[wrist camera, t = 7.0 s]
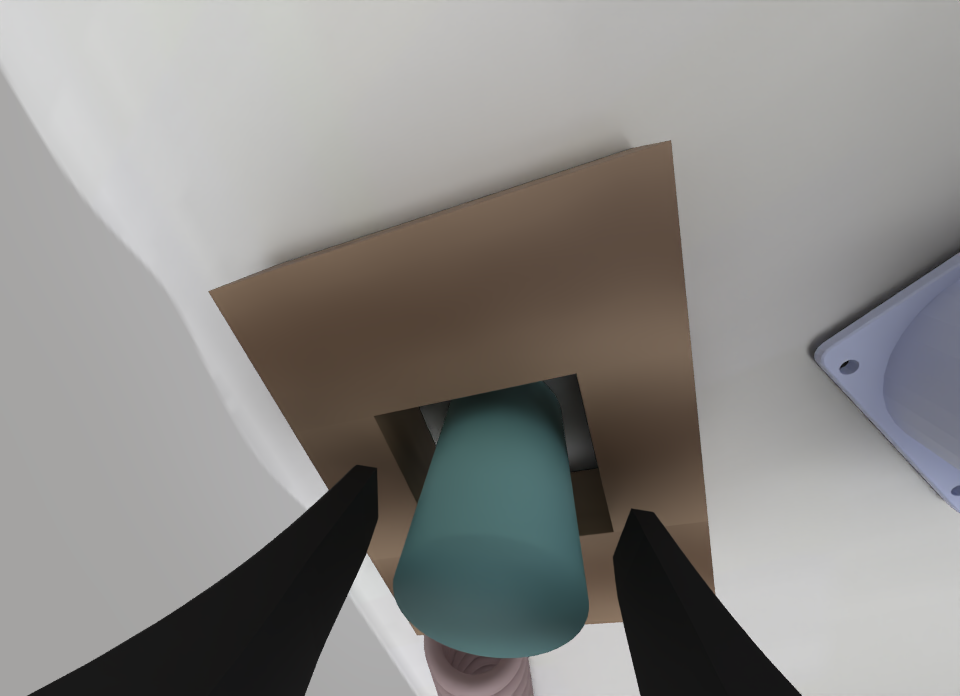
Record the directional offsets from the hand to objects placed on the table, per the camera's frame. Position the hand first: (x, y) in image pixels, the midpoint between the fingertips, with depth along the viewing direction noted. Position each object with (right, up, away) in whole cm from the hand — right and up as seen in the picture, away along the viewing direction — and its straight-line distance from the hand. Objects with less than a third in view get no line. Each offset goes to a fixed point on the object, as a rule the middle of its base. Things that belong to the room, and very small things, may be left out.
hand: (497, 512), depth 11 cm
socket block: (0, +2, +4) cm, 4 cm away
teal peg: (0, +2, +4) cm, 5 cm away
